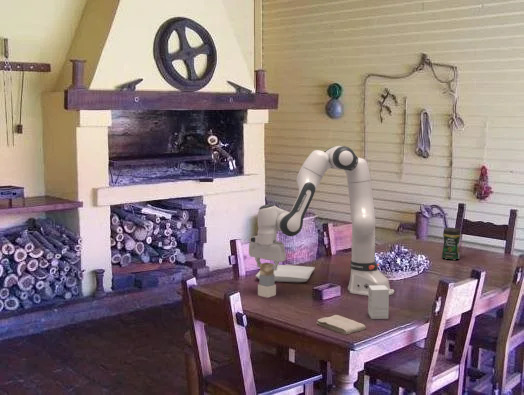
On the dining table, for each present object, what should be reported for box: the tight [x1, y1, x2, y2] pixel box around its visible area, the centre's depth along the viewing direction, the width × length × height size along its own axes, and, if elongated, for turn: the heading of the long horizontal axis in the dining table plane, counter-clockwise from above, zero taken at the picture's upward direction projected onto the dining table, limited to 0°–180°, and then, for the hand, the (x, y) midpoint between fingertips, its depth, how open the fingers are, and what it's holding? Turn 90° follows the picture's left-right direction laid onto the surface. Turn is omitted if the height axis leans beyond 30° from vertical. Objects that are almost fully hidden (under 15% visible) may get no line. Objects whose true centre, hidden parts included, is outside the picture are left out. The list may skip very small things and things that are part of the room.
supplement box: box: [367, 285, 390, 320], centre depth 285 cm, size 7×7×13 cm
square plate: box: [255, 264, 316, 284], centre depth 354 cm, size 27×27×4 cm
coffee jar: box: [441, 226, 461, 260], centre depth 395 cm, size 10×8×19 cm
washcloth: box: [316, 314, 367, 335], centre depth 272 cm, size 12×18×3 cm, turn 38°
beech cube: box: [259, 262, 275, 276], centre depth 318 cm, size 4×4×5 cm
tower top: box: [258, 274, 276, 287], centre depth 318 cm, size 5×5×5 cm
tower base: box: [257, 284, 277, 298], centre depth 319 cm, size 6×6×5 cm
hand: (267, 268), depth 318 cm, fingers open, 8 cm apart
